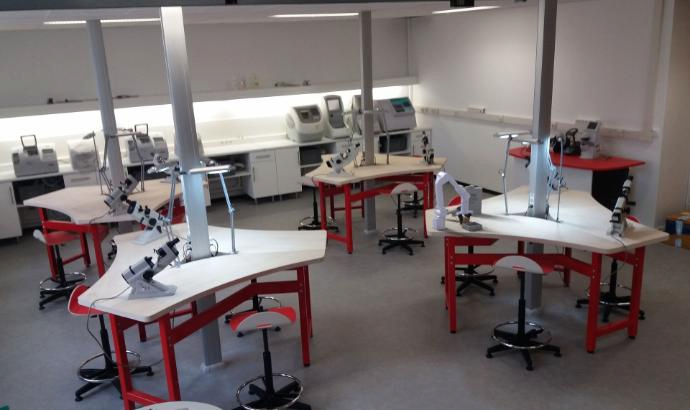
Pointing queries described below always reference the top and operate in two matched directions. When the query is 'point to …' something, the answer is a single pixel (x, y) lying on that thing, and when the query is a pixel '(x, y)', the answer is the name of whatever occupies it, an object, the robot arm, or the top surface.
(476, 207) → the grey upright panel
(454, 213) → the gun
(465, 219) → the walnut block
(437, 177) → the robot arm
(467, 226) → the tray
